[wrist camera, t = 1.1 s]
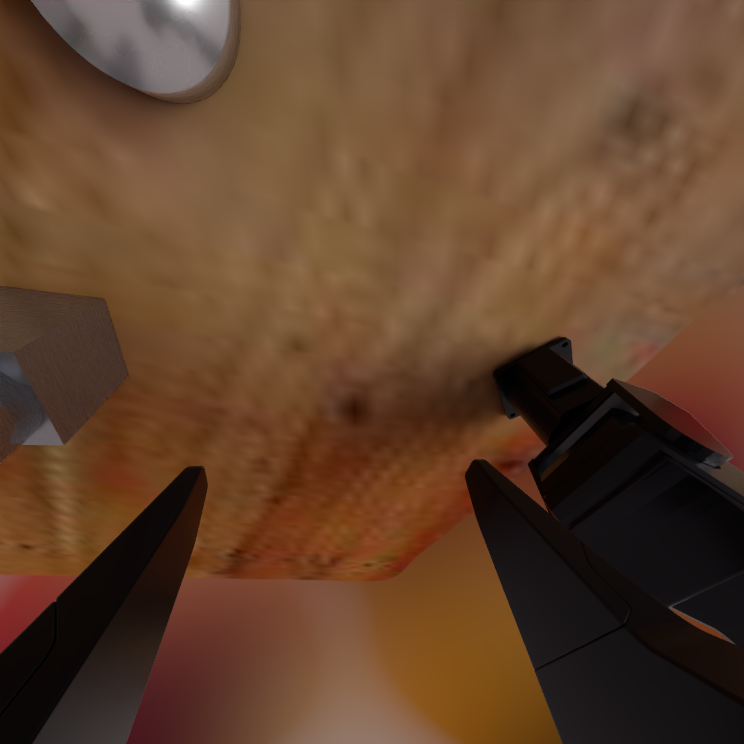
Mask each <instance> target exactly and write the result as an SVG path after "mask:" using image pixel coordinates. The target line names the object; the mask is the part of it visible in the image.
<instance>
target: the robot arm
mask: <svg viewBox="0 0 744 744" xmlns="http://www.w3.org/2000/svg"><path fill="white" fill-rule="evenodd" d="M500 374H501V375H500ZM493 378H494V381H495V384H496V387H497V390H498V393H499V396H500V399H501V402H502V405H503V408H504V411H505V415H506V416H507V417H508V418H509V419H513V418H515V417H517V416H521V417H522V418H523V419H524V420H525V422H526V423H527V424H528V425H529V426H530V427H531V429H532V430H533V431H534V432H535V433H536V434H537V436H538V437H539V438H540V439H541V440H542V442H543V443H544V444H545V445H546V446H547V447H546V448H545V449H544V450H543V451H542V452H541V453H540V454H539V455H538V456H537V457H536V458H535V459H532V460H531V461H530V462H529V463H528V466H529V468H530V471H531V473H532V475H533V478H534V480H535V482H536V485H537V487H538V489H539V492H540V494H541V496H542V499H543V501H544V503H545V506H546V508H547V510H548V512H549V513H548V512H547V511H546V510H544V509H543V508H542V507H541V506H540V505H539V504H537V503H536V502H535V501H534V500H532V499H531V498H530V497H529V496H528V495H527V494H525V493H524V492H523V491H522V490H521V489H520V488H518V487H517V486H516V485H514V483H512V482H511V481H510V480H509V479H508V478H506V477H505V476H504V475H503V474H502V473H500V472H499V471H498V470H497V469H496V468H494V467H493V466H492V465H491V464H490V463H488V462H487V461H486V460H483V459H475V460H473V461H472V463H471V464H470V466H469V468H468V470H467V471H466V474H465V479H466V483H467V487H468V490H469V494H470V498H471V501H472V505H473V508H474V512H475V515H476V518H477V521H478V524H479V527H480V530H481V532H482V535H483V537H484V540H485V542H486V545H487V548H488V551H489V553H490V555H491V558H492V561H493V564H494V566H495V569H496V571H497V574H498V576H499V579H500V582H501V584H502V587H503V590H504V592H505V595H506V597H507V600H508V603H509V605H510V608H511V610H512V613H513V616H514V618H515V621H516V623H517V626H518V629H519V631H520V634H521V637H522V639H523V642H524V644H525V647H526V649H527V652H528V655H529V657H530V660H531V662H532V665H533V667H534V669H535V673H536V676H537V679H538V681H539V684H540V686H541V689H542V692H543V694H544V697H545V700H546V702H547V705H548V707H549V710H550V712H551V715H552V718H553V720H554V723H555V725H556V728H557V730H558V733H559V736H560V739H561V741H562V744H744V473H743V472H742V471H740V470H739V469H737V468H736V467H734V466H733V465H731V464H730V463H728V462H727V461H729V460H730V459H732V458H733V455H732V454H731V453H730V452H729V451H728V450H727V449H726V448H725V447H724V446H723V445H722V444H721V443H720V442H719V441H718V440H717V439H716V438H715V437H714V436H712V434H711V433H710V432H709V431H708V430H706V429H705V428H704V427H703V426H702V425H701V424H700V423H699V422H698V421H697V420H696V419H695V418H694V417H693V416H692V415H691V414H690V413H688V412H687V411H685V410H683V409H682V408H680V407H678V406H677V405H675V404H673V403H672V402H670V401H668V400H666V399H665V398H663V397H661V396H660V395H658V394H656V393H654V392H652V391H649V390H646V389H643V388H640V387H637V386H634V385H631V384H628V383H625V382H623V381H620V380H617V379H614V378H612V379H611V380H610V381H609V382H608V383H607V384H606V385H607V386H606V387H605V388H603V387H602V386H601V385H599V384H598V383H597V382H595V381H594V380H593V379H591V378H590V377H588V376H587V375H586V374H585V373H584V372H583V371H581V370H580V369H579V368H577V367H576V366H575V365H573V360H572V348H571V341H570V340H569V339H568V338H566V337H562V338H560V339H558V340H556V341H554V342H552V343H550V344H548V345H546V346H544V347H542V348H540V349H538V350H536V351H534V352H532V353H530V354H528V355H526V356H524V357H522V358H520V359H518V360H516V361H514V362H512V363H510V364H508V365H506V366H504V367H502V368H500V369H498V370H496V371H495V372H494V374H493ZM207 487H208V483H207V478H206V473H205V469H204V467H203V466H189V467H187V468H185V469H184V470H183V471H182V472H181V473H180V474H179V475H178V476H177V477H176V478H175V479H174V480H173V481H172V482H171V483H170V484H169V485H168V486H167V488H166V489H165V490H164V491H163V492H162V493H161V494H160V495H159V496H158V497H157V498H156V499H155V500H154V501H153V502H152V503H151V504H150V505H149V506H148V507H147V508H146V509H145V510H144V511H143V512H142V513H141V514H140V515H139V516H138V517H137V518H136V519H135V520H134V521H133V522H132V523H131V524H130V525H129V526H128V527H127V528H126V529H125V530H124V531H123V532H122V533H121V534H120V535H119V536H118V537H117V538H116V539H115V540H114V541H113V542H112V543H111V544H110V545H109V546H108V547H107V548H106V549H105V550H104V551H103V552H102V553H101V554H100V555H99V556H98V557H97V558H96V559H95V560H94V561H93V562H92V563H91V564H90V565H89V566H88V567H87V568H86V569H85V570H84V571H83V572H82V573H81V574H80V575H79V576H78V577H77V578H76V579H75V580H74V581H73V582H72V583H71V584H70V585H69V586H68V587H67V588H66V589H65V590H64V591H63V592H62V593H61V594H60V595H59V596H58V597H57V599H56V602H52V603H51V604H50V605H49V606H48V607H47V608H46V609H45V610H44V611H43V612H42V613H41V614H40V615H39V616H38V617H37V618H36V619H35V620H34V621H33V622H32V623H31V624H30V625H29V626H28V627H27V628H26V629H25V630H24V631H23V632H22V633H21V634H20V635H19V636H18V637H17V638H16V639H15V640H14V641H13V642H12V643H11V644H10V645H9V646H8V647H7V648H6V649H5V650H4V651H3V652H2V653H0V744H126V742H127V739H128V736H129V734H130V731H131V728H132V725H133V722H134V719H135V716H136V713H137V710H138V707H139V704H140V701H141V699H142V696H143V693H144V690H145V687H146V684H147V681H148V678H149V676H150V673H151V670H152V667H153V664H154V661H155V658H156V655H157V652H158V650H159V646H160V644H161V641H162V638H163V635H164V632H165V629H166V626H167V623H168V620H169V617H170V615H171V612H172V609H173V606H174V603H175V600H176V597H177V595H178V591H179V589H180V586H181V582H182V580H183V577H184V574H185V571H186V569H187V566H188V563H189V560H190V557H191V554H192V551H193V548H194V545H195V541H196V537H197V532H198V528H199V524H200V519H201V515H202V510H203V506H204V502H205V497H206V493H207ZM669 608H671V609H673V610H675V611H677V612H679V613H681V614H684V615H685V616H687V617H689V618H691V619H693V620H695V621H697V622H699V623H702V624H703V625H706V626H707V627H709V628H711V629H714V630H715V631H717V632H719V633H720V634H721V635H722V636H723V637H725V638H726V639H727V640H728V641H729V642H728V641H725V640H723V639H720V638H718V637H716V636H713V635H711V634H709V633H707V632H705V631H702V630H701V629H699V628H697V627H696V626H694V625H692V624H690V623H689V622H687V621H686V620H684V619H683V618H681V617H680V616H678V615H677V614H676V613H674V612H673V611H672V610H670V609H669Z"/></svg>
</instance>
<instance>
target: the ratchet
mask: <svg viewBox="0 0 744 744" xmlns="http://www.w3.org/2000/svg"><path fill="white" fill-rule="evenodd" d="M31 1H32V2H33V4H34V5H35V6H36V8H37V9H38V10H39V12H40V13H41V14H42V16H43V17H44V18H45V19H46V20H47V22H48V23H49V24H50V25H51V26H52V27H53V29H54V30H55V31H56V32H57V33H58V34H59V35H60V36H61V37H62V38H63V39H64V40H65V41H66V42H67V43H68V44H69V45H70V46H71V47H72V48H73V49H74V50H75V51H76V52H77V53H79V54H80V55H81V56H82V57H83V58H85V59H86V60H87V61H88V62H90V63H91V64H92V65H94V66H95V67H97V68H98V69H99V70H101V71H102V72H104V73H106V74H107V75H109V76H111V77H112V78H114V79H116V80H118V81H120V82H122V83H124V84H126V85H128V86H130V87H132V88H135V89H137V90H139V91H141V92H143V93H145V94H147V95H150V96H152V97H154V98H157V99H160V100H163V101H167V102H173V103H192V102H197V101H200V100H202V99H205V98H207V97H209V96H210V95H212V94H213V93H215V92H216V91H217V90H218V89H219V88H220V87H221V86H222V85H223V83H224V82H225V81H226V79H227V78H228V76H229V74H230V72H231V70H232V68H233V66H234V63H235V60H236V57H237V53H238V48H239V43H240V31H241V13H240V4H239V0H31Z"/></svg>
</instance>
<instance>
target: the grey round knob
mask: <svg viewBox="0 0 744 744" xmlns="http://www.w3.org/2000/svg"><path fill="white" fill-rule="evenodd" d="M128 376H129V375H128V372H127V369H126V366H125V363H124V359H123V356H122V353H121V350H120V347H119V343H118V340H117V337H116V334H115V331H114V328H113V324H112V321H111V318H110V315H109V312H108V308H107V305H106V302H105V299H102V298H94V297H86V296H78V295H69V294H61V293H53V292H44V291H36V290H28V289H20V288H11V287H3V286H0V464H1V463H2V462H3V461H5V460H6V459H7V458H8V457H9V456H10V455H11V454H12V453H13V452H14V451H15V450H17V449H18V448H19V447H20V446H21V445H65V444H66V443H67V442H68V441H69V440H70V438H71V437H72V436H73V435H74V434H75V433H76V432H77V431H78V430H79V429H80V428H81V427H82V426H83V425H84V423H85V422H86V421H87V420H88V419H89V418H90V417H91V416H92V415H93V414H94V413H95V412H96V411H97V409H98V408H99V407H100V406H101V405H102V404H103V403H104V402H105V401H106V400H107V399H108V398H109V397H110V395H111V394H112V393H113V392H114V391H115V390H116V389H117V388H118V387H119V386H120V385H121V384H122V383H123V382H124V380H125V379H126V378H127V377H128Z"/></svg>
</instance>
